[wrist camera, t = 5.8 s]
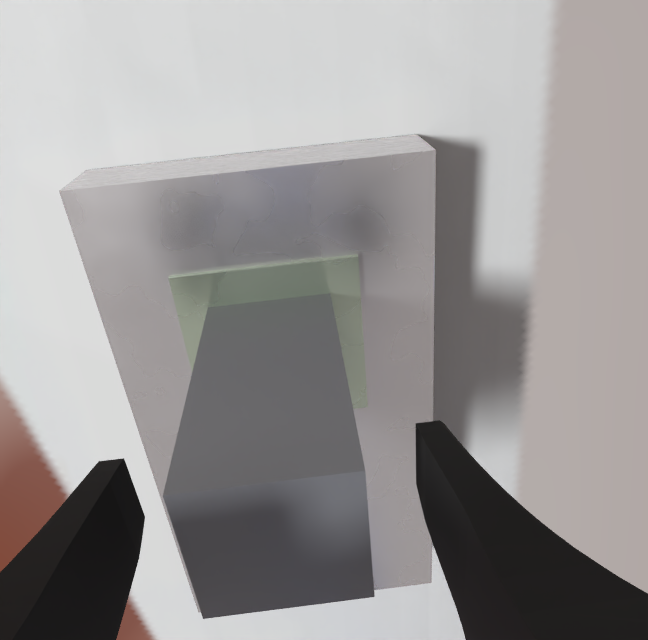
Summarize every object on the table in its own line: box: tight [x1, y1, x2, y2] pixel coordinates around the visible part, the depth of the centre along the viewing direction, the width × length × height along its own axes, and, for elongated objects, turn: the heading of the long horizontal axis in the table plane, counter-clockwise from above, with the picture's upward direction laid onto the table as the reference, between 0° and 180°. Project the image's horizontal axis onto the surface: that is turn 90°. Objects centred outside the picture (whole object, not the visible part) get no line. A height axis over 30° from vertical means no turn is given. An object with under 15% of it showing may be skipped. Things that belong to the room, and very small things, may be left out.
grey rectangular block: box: [163, 293, 374, 619], centre depth 15 cm, size 4×4×8 cm
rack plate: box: [59, 134, 436, 612], centre depth 22 cm, size 20×11×3 cm, turn 5°
